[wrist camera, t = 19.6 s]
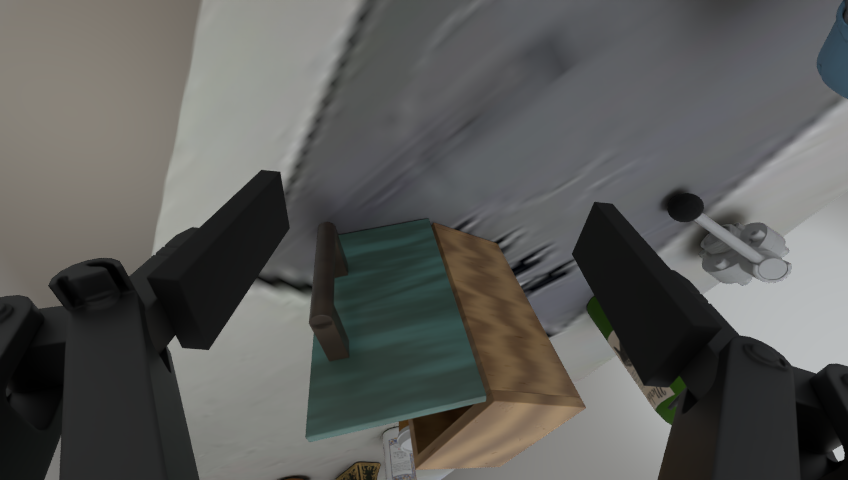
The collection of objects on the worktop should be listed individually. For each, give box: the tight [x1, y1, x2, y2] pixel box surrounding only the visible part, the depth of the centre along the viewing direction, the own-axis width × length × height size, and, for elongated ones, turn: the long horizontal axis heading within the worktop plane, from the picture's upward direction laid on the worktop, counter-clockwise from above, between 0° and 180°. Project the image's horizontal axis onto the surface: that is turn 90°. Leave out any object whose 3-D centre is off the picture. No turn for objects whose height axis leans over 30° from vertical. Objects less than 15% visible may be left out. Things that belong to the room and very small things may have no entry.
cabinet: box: [408, 223, 586, 470], centre depth 41 cm, size 11×14×24 cm
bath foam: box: [383, 427, 417, 480], centre depth 78 cm, size 7×7×20 cm
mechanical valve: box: [667, 193, 792, 286], centre depth 53 cm, size 10×18×15 cm
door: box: [305, 219, 486, 442], centre depth 33 cm, size 7×14×24 cm, turn 95°
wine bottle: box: [587, 296, 686, 425], centre depth 52 cm, size 9×9×32 cm
